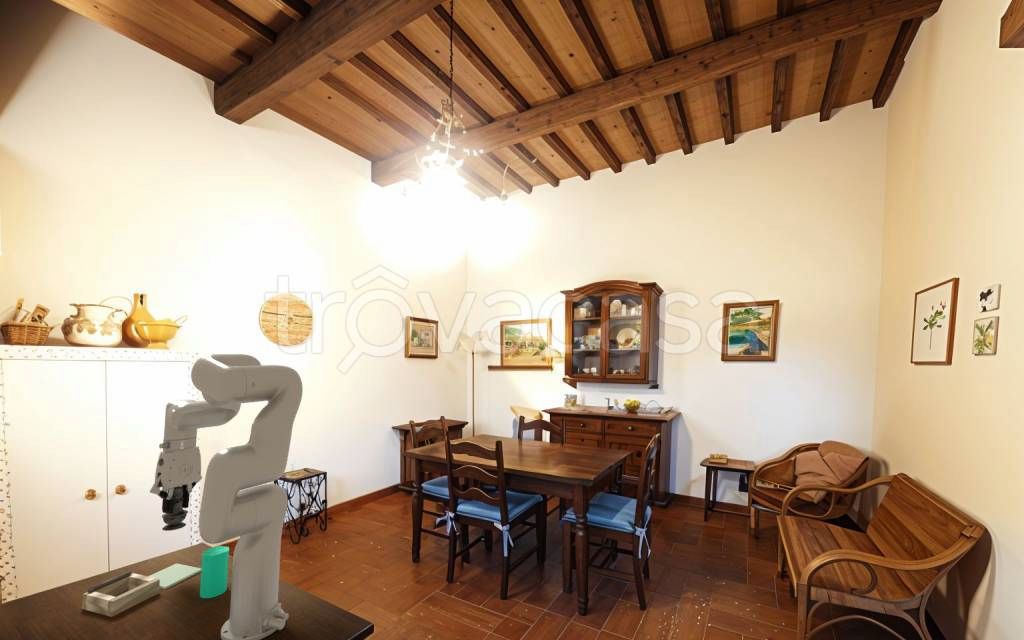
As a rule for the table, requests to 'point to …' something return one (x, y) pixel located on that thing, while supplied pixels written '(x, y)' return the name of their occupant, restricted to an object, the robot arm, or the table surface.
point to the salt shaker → (175, 512)
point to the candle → (214, 571)
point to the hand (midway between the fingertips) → (175, 509)
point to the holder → (104, 593)
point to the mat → (174, 574)
